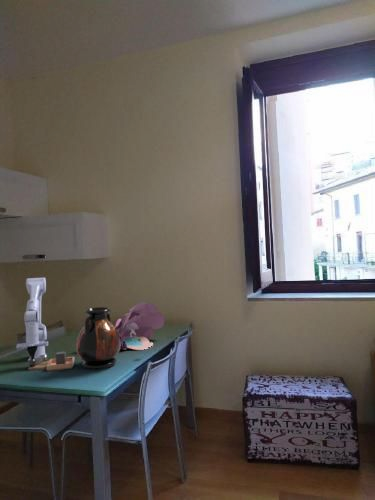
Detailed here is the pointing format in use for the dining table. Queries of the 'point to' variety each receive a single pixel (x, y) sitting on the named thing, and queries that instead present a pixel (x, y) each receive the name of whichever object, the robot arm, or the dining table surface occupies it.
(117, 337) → the amphora vase
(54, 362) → the tray
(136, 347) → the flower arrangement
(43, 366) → the crank base
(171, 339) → the dining table surface
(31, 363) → the crank lever
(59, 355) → the stop block
